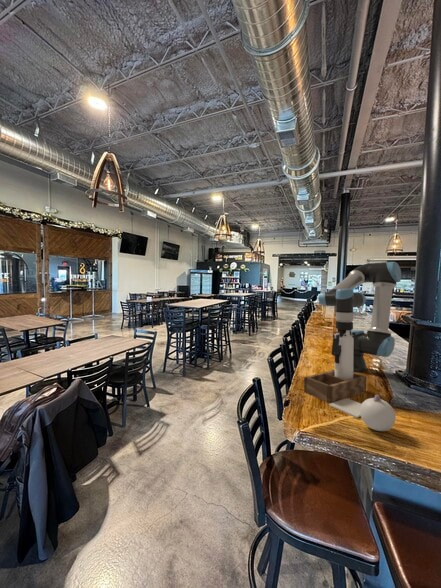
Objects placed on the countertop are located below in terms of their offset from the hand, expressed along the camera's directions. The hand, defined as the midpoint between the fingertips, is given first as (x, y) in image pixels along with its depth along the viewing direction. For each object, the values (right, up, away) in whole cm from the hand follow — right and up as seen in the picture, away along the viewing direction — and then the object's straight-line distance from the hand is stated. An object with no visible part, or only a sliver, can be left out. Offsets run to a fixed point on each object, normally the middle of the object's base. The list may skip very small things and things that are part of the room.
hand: (343, 368), depth 125 cm
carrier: (-6, -10, -3) cm, 12 cm away
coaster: (-6, -11, -20) cm, 23 cm away
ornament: (-5, -11, -35) cm, 37 cm away
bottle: (0, -8, 0) cm, 8 cm away
